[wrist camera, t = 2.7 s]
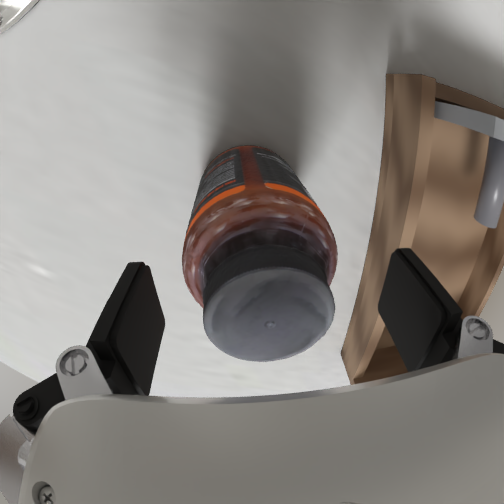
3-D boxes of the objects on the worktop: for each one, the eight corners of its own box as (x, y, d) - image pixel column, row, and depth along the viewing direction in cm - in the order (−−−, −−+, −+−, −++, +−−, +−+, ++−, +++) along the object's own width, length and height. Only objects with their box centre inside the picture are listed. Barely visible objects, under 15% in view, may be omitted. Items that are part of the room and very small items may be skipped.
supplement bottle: (188, 215, 18) (151, 359, 9) (219, 129, 15) (195, 198, 6) (272, 241, 20) (305, 386, 10) (309, 164, 17) (402, 271, 7)
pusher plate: (413, 97, 13) (495, 116, 7) (508, 127, 14) (569, 156, 8) (402, 198, 17) (465, 254, 11) (494, 202, 17) (547, 244, 11)
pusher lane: (386, 73, 14) (490, 82, 6) (507, 114, 14) (582, 146, 6) (340, 353, 28) (364, 427, 20) (440, 331, 28) (472, 387, 20)
